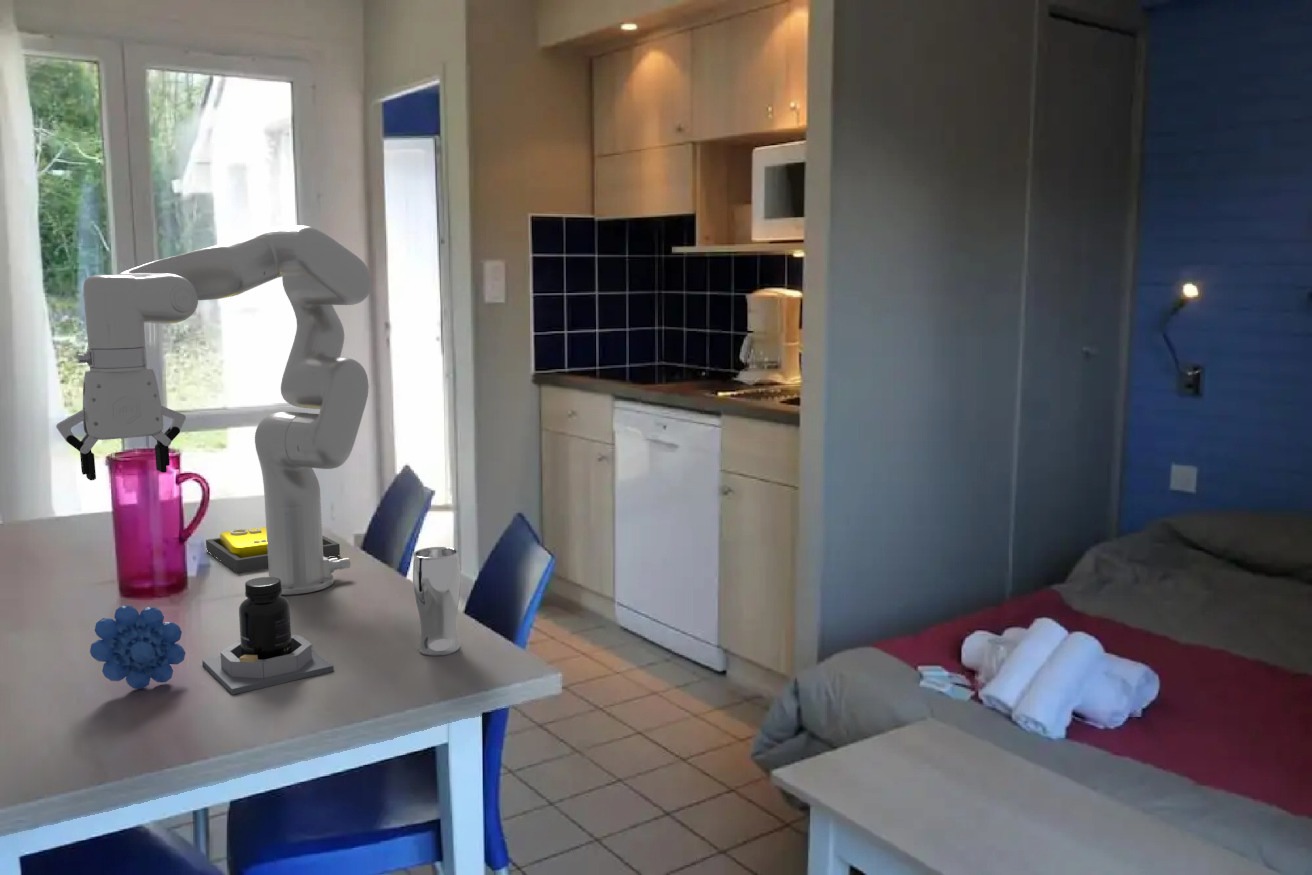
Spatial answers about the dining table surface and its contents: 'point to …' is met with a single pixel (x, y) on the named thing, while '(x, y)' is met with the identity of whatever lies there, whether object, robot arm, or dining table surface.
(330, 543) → the shallow dark tray
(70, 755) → the dining table surface
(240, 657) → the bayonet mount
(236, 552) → the element tile
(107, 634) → the blue petal flower
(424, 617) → the beer glass
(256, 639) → the supplement bottle
